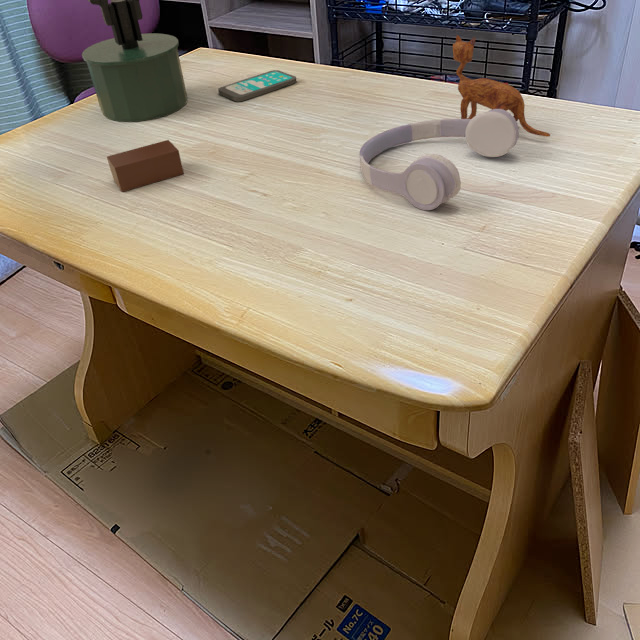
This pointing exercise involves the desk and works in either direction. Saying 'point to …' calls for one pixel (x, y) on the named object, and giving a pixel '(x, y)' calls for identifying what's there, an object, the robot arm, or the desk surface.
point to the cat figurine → (487, 90)
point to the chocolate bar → (145, 165)
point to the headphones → (434, 170)
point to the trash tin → (140, 88)
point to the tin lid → (129, 43)
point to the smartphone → (257, 85)
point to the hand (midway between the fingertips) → (129, 41)
